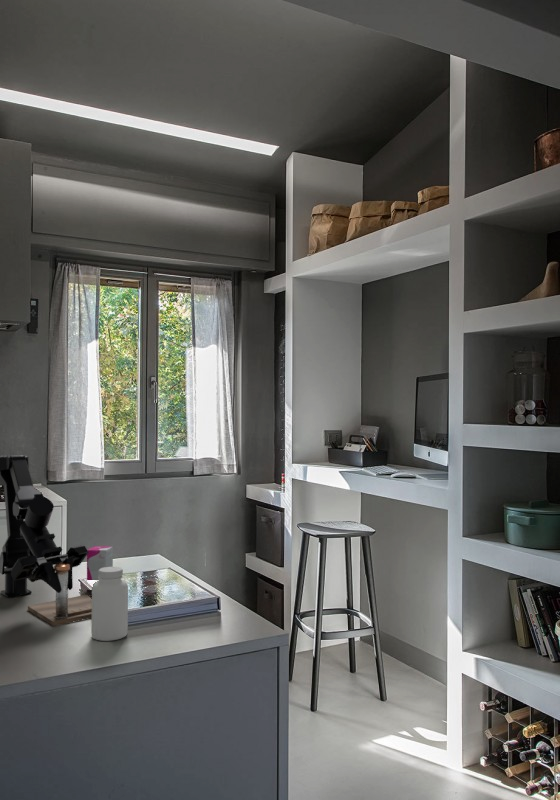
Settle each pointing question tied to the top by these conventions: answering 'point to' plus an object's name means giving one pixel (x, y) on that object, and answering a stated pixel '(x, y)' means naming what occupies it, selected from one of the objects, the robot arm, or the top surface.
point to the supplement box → (98, 561)
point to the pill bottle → (109, 605)
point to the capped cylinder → (62, 591)
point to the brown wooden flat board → (76, 610)
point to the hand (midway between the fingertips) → (65, 590)
